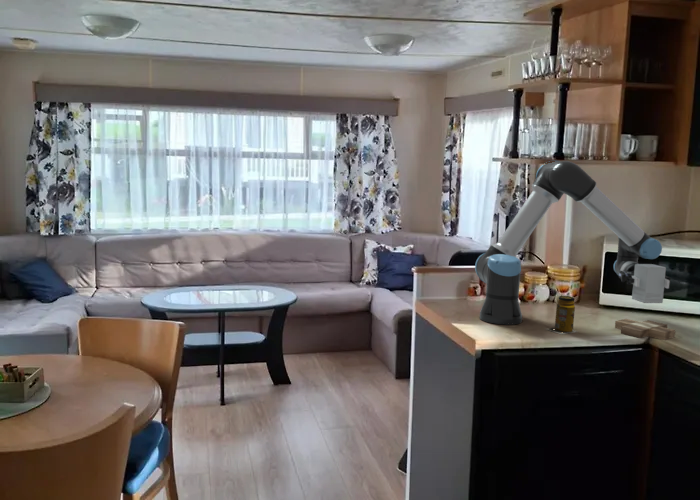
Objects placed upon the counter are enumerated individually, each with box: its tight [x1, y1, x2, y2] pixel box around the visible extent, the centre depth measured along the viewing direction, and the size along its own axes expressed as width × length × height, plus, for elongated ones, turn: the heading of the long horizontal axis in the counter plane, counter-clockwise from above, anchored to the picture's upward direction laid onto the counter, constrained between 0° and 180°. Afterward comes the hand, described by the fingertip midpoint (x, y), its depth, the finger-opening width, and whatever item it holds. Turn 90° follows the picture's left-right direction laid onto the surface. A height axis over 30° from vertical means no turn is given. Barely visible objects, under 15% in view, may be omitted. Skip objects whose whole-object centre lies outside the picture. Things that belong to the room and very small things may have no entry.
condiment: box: [546, 295, 579, 335], centre depth 224 cm, size 7×8×12 cm
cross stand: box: [614, 318, 676, 341], centre depth 227 cm, size 18×18×3 cm
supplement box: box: [631, 263, 667, 304], centre depth 225 cm, size 7×7×13 cm
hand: (653, 283), depth 220 cm, fingers closed on supplement box, 9 cm apart
